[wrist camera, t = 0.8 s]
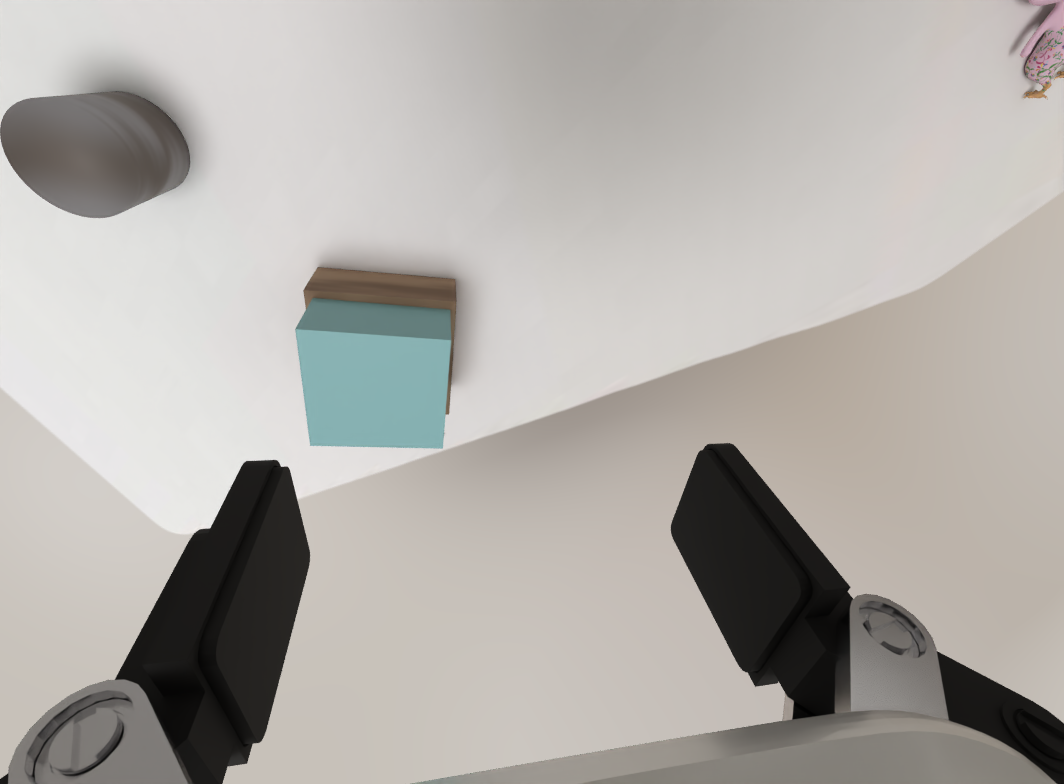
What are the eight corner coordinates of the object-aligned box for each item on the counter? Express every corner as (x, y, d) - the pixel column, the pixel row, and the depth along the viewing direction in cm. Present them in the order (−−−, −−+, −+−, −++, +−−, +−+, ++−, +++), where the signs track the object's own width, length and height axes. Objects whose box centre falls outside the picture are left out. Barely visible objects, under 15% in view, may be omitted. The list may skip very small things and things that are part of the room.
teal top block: (312, 297, 34) (295, 329, 30) (450, 309, 37) (451, 340, 32) (323, 406, 40) (310, 445, 36) (442, 411, 42) (442, 448, 38)
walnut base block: (318, 266, 38) (303, 290, 34) (455, 278, 40) (456, 301, 36) (330, 379, 44) (318, 410, 40) (448, 383, 46) (449, 414, 42)
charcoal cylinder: (67, 83, 29) (-23, 88, 23) (177, 100, 30) (116, 108, 25) (101, 186, 32) (29, 211, 27) (199, 196, 34) (149, 223, 28)
